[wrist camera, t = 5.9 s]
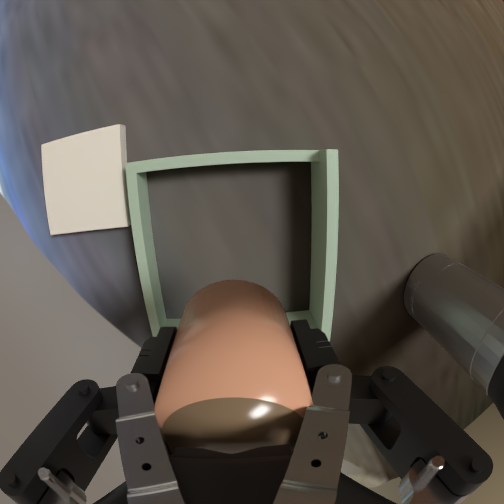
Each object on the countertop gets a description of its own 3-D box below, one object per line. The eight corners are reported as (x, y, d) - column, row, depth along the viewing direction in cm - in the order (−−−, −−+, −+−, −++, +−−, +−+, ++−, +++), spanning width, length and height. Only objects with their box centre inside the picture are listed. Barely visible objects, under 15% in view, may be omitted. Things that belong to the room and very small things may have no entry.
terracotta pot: (288, 276, 13) (333, 377, 7) (286, 365, 15) (312, 471, 8) (173, 282, 13) (126, 385, 6) (190, 370, 15) (172, 477, 8)
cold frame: (320, 151, 26) (337, 149, 21) (317, 316, 31) (329, 341, 27) (136, 163, 25) (116, 163, 20) (159, 326, 31) (149, 352, 26)
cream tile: (125, 125, 24) (119, 124, 23) (132, 223, 27) (127, 226, 26) (48, 145, 24) (41, 144, 22) (57, 231, 27) (50, 235, 25)
